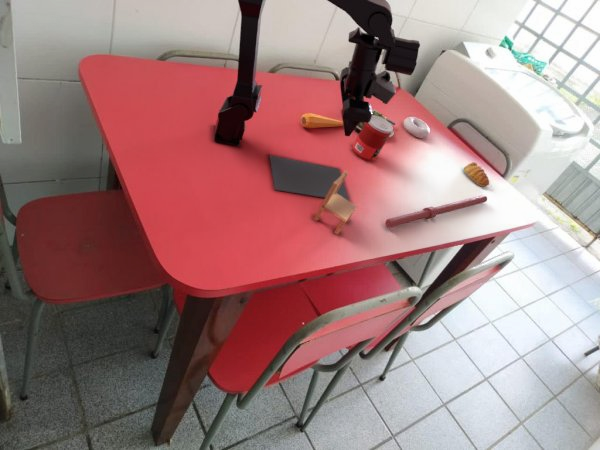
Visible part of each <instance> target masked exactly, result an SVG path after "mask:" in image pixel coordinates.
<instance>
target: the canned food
mask: <svg viewBox="0 0 600 450" xmlns="http://www.w3.org/2000/svg"><path fill="white" fill-rule="evenodd" d="M393 130H394V127H393V125H391V124H390V123H389V122H388V121H387V120H385V119H384V118H382V117H379V116H376V115H372V117H371V120H370V122H368V123H365V124H364V126H363V127H362V129H361V131H360V133H358V135H357V137H356V138H355V140H354V142H353V144H352V152H353V153H354V154H355V155H356V156H357V157H358V158H359V159H361V160H363V161H367V162H373V161H374V160H375V159H377V157H378V156H379V154H380V152H381V151H382V149H383V147H384V146H385V144H386V143H387V141H388V140H389V138H390V137H389V136H390V134H391V133H392V131H393ZM393 132H394V131H393Z"/></svg>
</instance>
